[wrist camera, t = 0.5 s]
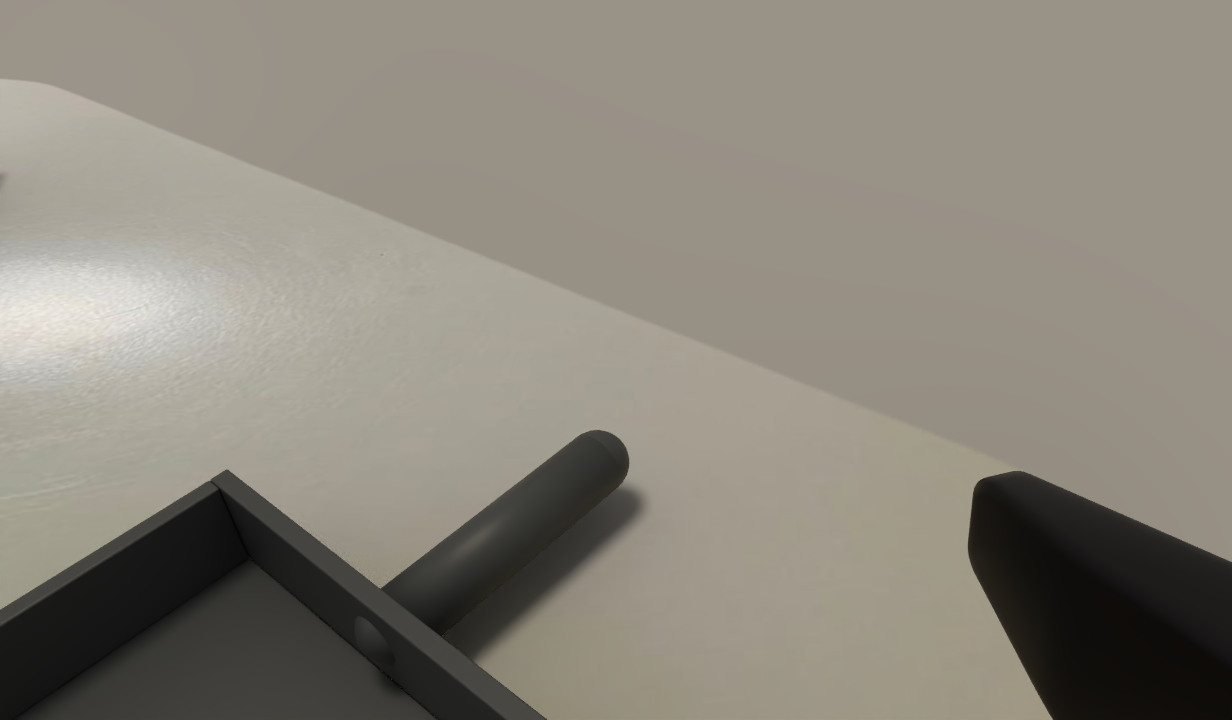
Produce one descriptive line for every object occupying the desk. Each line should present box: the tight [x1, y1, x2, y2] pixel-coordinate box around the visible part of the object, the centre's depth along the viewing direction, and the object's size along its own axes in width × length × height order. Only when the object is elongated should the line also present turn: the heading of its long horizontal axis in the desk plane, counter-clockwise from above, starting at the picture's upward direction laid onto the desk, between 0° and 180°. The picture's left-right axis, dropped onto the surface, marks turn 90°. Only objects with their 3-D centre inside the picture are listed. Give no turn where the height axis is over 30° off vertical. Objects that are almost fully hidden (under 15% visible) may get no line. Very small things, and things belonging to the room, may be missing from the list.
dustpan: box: [0, 430, 629, 720], centre depth 26 cm, size 19×15×3 cm
